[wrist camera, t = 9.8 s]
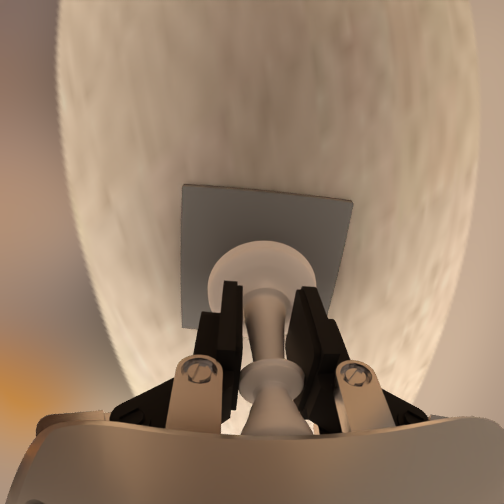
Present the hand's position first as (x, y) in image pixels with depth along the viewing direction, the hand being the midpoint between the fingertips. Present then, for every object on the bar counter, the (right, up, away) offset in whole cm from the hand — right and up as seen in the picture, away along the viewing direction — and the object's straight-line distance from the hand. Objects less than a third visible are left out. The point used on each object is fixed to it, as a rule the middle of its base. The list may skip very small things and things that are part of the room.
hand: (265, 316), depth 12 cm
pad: (0, +2, +4) cm, 4 cm away
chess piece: (0, +1, +2) cm, 2 cm away
